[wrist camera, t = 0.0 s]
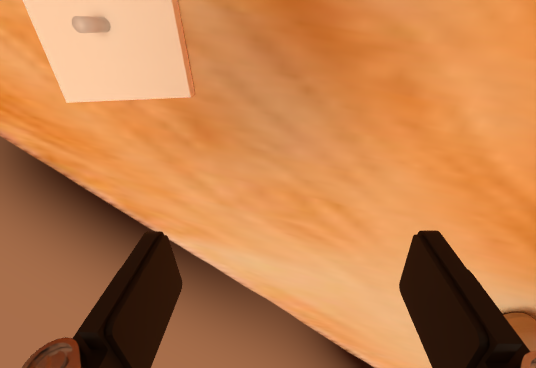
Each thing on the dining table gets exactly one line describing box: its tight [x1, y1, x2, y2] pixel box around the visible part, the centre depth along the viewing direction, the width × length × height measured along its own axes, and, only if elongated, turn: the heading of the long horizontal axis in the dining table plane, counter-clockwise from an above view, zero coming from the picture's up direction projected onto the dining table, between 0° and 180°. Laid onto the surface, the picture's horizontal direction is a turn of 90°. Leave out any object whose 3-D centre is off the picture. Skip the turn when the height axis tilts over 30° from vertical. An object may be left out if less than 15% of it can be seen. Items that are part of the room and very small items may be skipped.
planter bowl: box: [504, 313, 536, 352], centre depth 56 cm, size 16×16×11 cm
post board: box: [23, 0, 195, 103], centre depth 32 cm, size 18×18×6 cm
